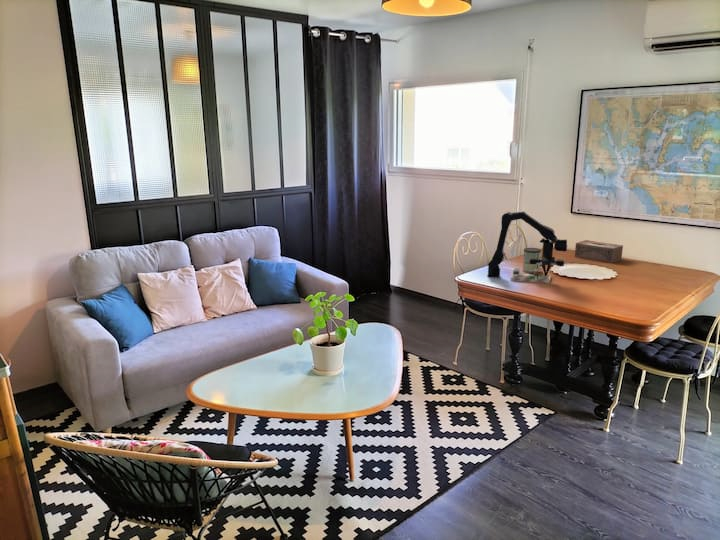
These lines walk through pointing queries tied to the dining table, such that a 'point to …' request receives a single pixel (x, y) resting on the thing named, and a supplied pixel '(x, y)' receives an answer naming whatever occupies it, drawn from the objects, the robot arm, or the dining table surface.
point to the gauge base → (529, 277)
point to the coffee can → (526, 261)
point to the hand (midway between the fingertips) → (545, 276)
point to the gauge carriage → (537, 272)
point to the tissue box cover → (598, 251)
